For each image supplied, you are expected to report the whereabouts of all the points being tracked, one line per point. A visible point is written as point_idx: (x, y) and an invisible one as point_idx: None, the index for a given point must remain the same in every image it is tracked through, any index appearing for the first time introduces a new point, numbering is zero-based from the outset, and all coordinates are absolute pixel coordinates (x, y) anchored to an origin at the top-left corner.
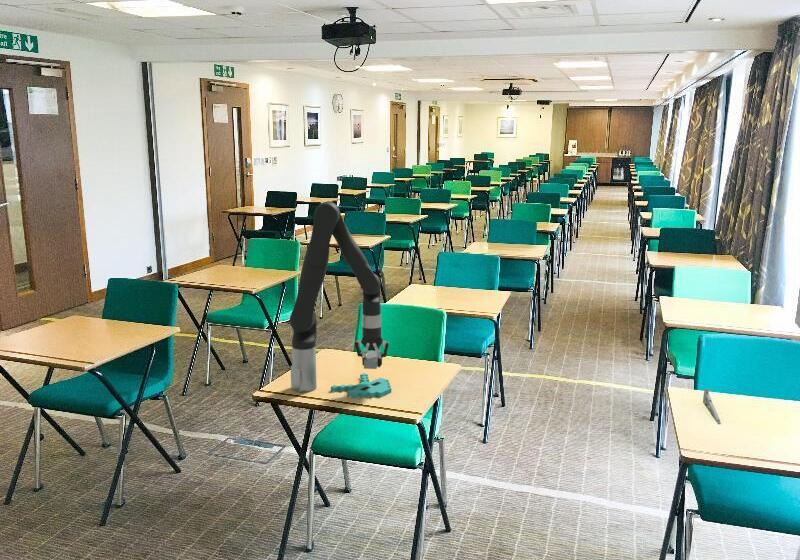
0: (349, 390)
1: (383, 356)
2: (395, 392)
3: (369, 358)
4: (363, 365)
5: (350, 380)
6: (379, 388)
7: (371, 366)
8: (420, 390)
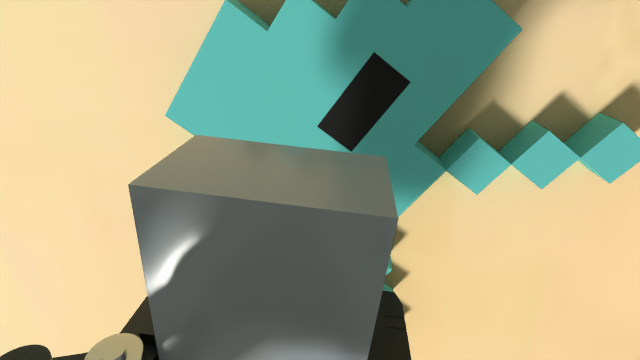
0: (480, 137)
1: (43, 358)
2: (154, 105)
3: (292, 341)
4: (387, 291)
5: (455, 301)
6: (251, 107)
7: (260, 155)
8: (13, 140)
